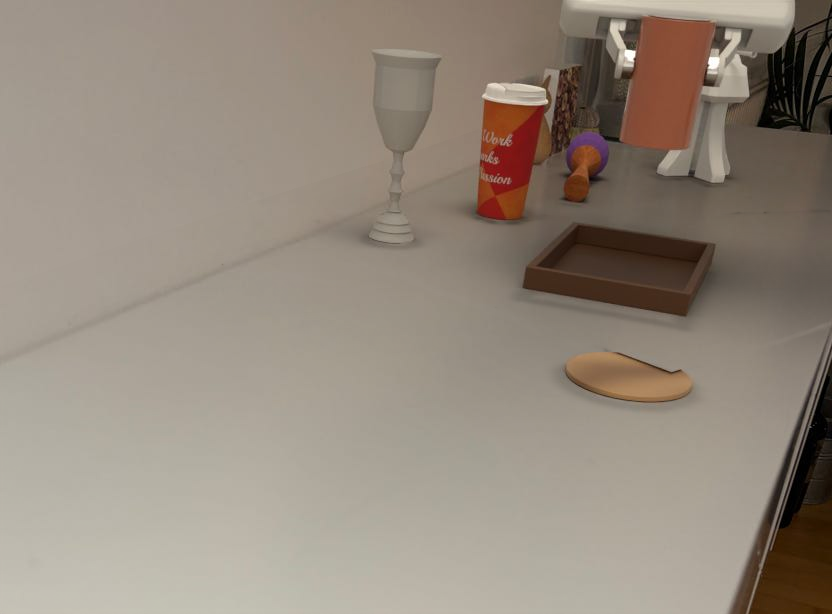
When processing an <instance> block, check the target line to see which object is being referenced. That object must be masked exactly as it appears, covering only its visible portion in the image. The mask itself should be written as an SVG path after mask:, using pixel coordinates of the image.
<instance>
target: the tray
mask: <svg viewBox="0 0 832 614" xmlns="http://www.w3.org/2000/svg"><path fill="white" fill-rule="evenodd" d="M716 246H717V244H716V243H712V242H706V241H699V240H694V239H687V238H680V237H675V236H668V235H661V234H654V233H648V232H642V231H636V230H628V229H623V228H615V227H610V226H603V225H596V224H589V223H583V222H577V221H573V222H572V223H570V224H569V226H567V227H566V228H565V229H564V230H563V231H562V232H561V233H560V234H559V235H558V236H557V237H556V238H555V239H554V240H553V241H551V243H550V244H548V245H547V247H545V248H544V249H543V250H542V251H541V252H540V253H539V254H538V255H537V256H536V257H535V258H534V259H532V261H530V262H529V263H528V264H527V265H526V266H525V271H524V276H523V277H524V278H523V283H522V284H523V285H522V289H525V290H531V291H536V292H541V293H546V294H547V293H548V294H553V295H559V296H565V297H570V298H576V299H581V300H588V301H592V302H599V303H605V304H611V305H616V306H622V307H627V308H632V309H633V308H634V309H639V310H645V311H651V312H656V313H663V314H669V315H672V316H673V315H674V316H680V317H687V315H688V312H689V310H690V308H691V306H692V304H693V303H694V300H695V298H696V296H697V294H698V292H699V290H700V287H701V286H702V283H703V281H704V280H705V277H706V275H707V273H708V271H709V269H710V267H711V265H712V263H713V258H714V254H715V251H716Z"/></svg>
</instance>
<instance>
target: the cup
mask: <svg viewBox="0 0 832 614" xmlns="http://www.w3.org/2000/svg"><path fill="white" fill-rule="evenodd" d="M716 26H717V21H715V20H711V19H707V18H700V17H688V16H676V15H663V14H643V15H642V17H641V23H640V28H639V34H638V39H637V42H636V46H635V59H634V61H635V63H634V69H633V73H632V77H631V79H629V82H628V87H627V94H626V100H625V105H624V106H625V107H624V110H623V116H622V121H621V126H620V132H619V137H618V140H619V142H621V143H623V144H626V145H628V146H633V147H638V148H643V149H650V150H651V149H652V150H659V151H660V150H661V151H670V150H684V149H688V148H690V145H691V140H692V135H693V131H694V126H695V122H696V117H697V113H698V108H699V103H700V99H701V94H702V90H703V85H704V81H705V76H706V71H707V67H708V62H709V58H710V53H711V49H712V44H713V39H714V35H715V30H716Z"/></svg>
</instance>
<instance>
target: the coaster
mask: <svg viewBox="0 0 832 614" xmlns="http://www.w3.org/2000/svg"><path fill="white" fill-rule="evenodd" d="M565 373H566V376H567V377H568V379H569V380H571V381H572V382H573V383H575V384H576V385H578V386H580V387H582V388H583V389H585V390H588V391H590V392H593V393H596V394H599V395H602V396H604V397H605V396H606V397H610V398H614V399H619V400H624V401H625V400H626V401H633V402H650V403H651V402H653V403H654V402H667V401H672V400H678V399H680V398H683V397H685V396H686V395H688V394H689V393H690V392H691V389H692V386H693V380H692V378H691V377H690V375H688V373H686V372H685V371H684V370H683V369H676V370H674V371H670V370H667V369H664V368H661V367H659V366H656V365H654V364H651V363H649V362H645V361H642V360H640V359H638V358H635V357H632V356H630V355H627V354H624V353H621V352H618V351H617V352H616V351H595V352H588V353H582V354H578V355H576V356H574V357H571V358H570V359H569V360H568V361H567V362H566V365H565Z"/></svg>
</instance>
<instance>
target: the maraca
mask: <svg viewBox="0 0 832 614" xmlns="http://www.w3.org/2000/svg"><path fill="white" fill-rule="evenodd" d="M609 156H610V148H609V144H608V142H607V141H606V139H605V137H603V136H602V135H601V134H599V133H597V132H593V131H585V132H582V133H579V134H578V135H576V136H575V137H573V139H572V140H571V142H570V143H569V145H568V147H567V148H566V154H565V161H566V167H567V168H568V170H569V171H570V172H571V174H570V176H568V178H567V179H565V182H564V184H563V189H562V190H563V194H564V196H565V198H566V199H567V200H569V201H571V202H576V203H577V202H581V201H583V200H584V199H586V197H587V196H588V194H589V193H590V188H591V187H590V180H589V179H590V178H594V177H597V176H598V175H600V174H601V173H602V172H603V171H604V169H605V167H606V166H607V164H608V161H609Z"/></svg>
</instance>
